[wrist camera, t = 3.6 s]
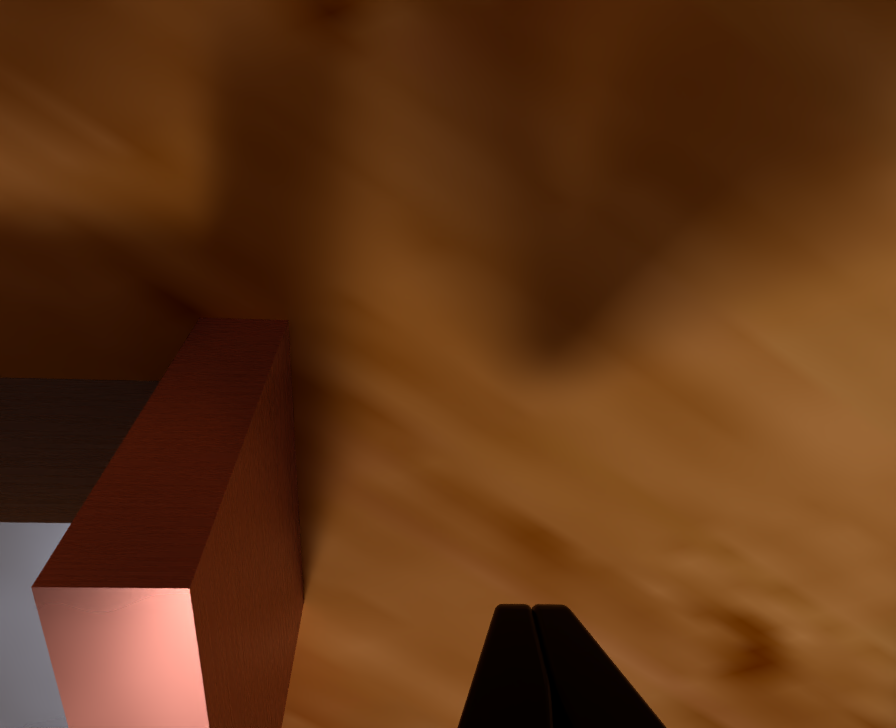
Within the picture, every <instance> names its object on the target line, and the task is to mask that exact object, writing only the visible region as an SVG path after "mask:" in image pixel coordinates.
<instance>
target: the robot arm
mask: <svg viewBox="0 0 896 728" xmlns="http://www.w3.org/2000/svg"><path fill="white" fill-rule="evenodd" d="M458 728H666V727H665V725H664V724H663V723H662V722H661V720H660V719H659V718H658V717H657V715H656V714H655V713H654V712H653V711H652V709H651V708H650V707H649V706H648V704H647V703H646V702H645V701H644V700H643V698H642V697H641V696H640V695H639V693H638V692H637V691H636V690H635V688H634V687H633V686H632V685H631V684H630V682H629V681H628V680H627V679H626V677H625V676H624V675H623V674H622V673H621V671H620V670H619V669H618V668H617V666H616V665H615V664H614V663H613V661H612V660H611V659H610V658H609V657H608V655H607V654H606V653H605V652H604V650H603V649H602V648H601V647H600V646H599V644H598V643H597V642H596V641H595V639H594V638H593V637H592V636H591V634H590V633H589V632H588V631H587V630H586V628H585V627H584V626H583V625H582V623H581V622H580V621H579V620H578V618H577V617H576V616H575V615H574V614H573V612H572V611H571V610H570V609H569V608H568V607H567V606H565V605H555V604H537V605H535V606H533V607H532V609H531V608H530V606H528V605H526V604H499V605H498V606H497V607H496V608H495V611H494V614H493V617H492V620H491V624H490V627H489V630H488V633H487V636H486V639H485V643H484V646H483V649H482V652H481V655H480V658H479V662H478V665H477V668H476V671H475V674H474V677H473V681H472V684H471V687H470V690H469V693H468V697H467V700H466V703H465V706H464V709H463V712H462V716H461V719H460V722H459V725H458Z"/></svg>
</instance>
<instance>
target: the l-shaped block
mask: <svg viewBox="0 0 896 728" xmlns="http://www.w3.org/2000/svg"><path fill="white" fill-rule="evenodd" d="M303 605H304V597H303V579H302V561H301V542H300V524H299V506H298V487H297V469H296V451H295V432H294V414H293V396H292V377H291V359H290V341H289V322H288V320H262V319H224V318H199V320H198V321H197V323H196V325H195V326H194V328H193V329H192V331H191V333H190V334H189V336H188V337H187V339H186V341H185V342H184V344H183V345H182V347H181V349H180V350H179V352H178V353H177V355H176V357H175V358H174V360H173V361H172V363H171V365H170V366H169V368H168V369H167V371H166V373H165V374H164V376H163V377H162V379H161V381H132V380H87V379H41V378H0V728H281V727H282V722H283V716H284V710H285V705H286V699H287V694H288V688H289V683H290V677H291V671H292V666H293V660H294V655H295V649H296V644H297V638H298V632H299V627H300V621H301V616H302V610H303Z"/></svg>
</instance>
